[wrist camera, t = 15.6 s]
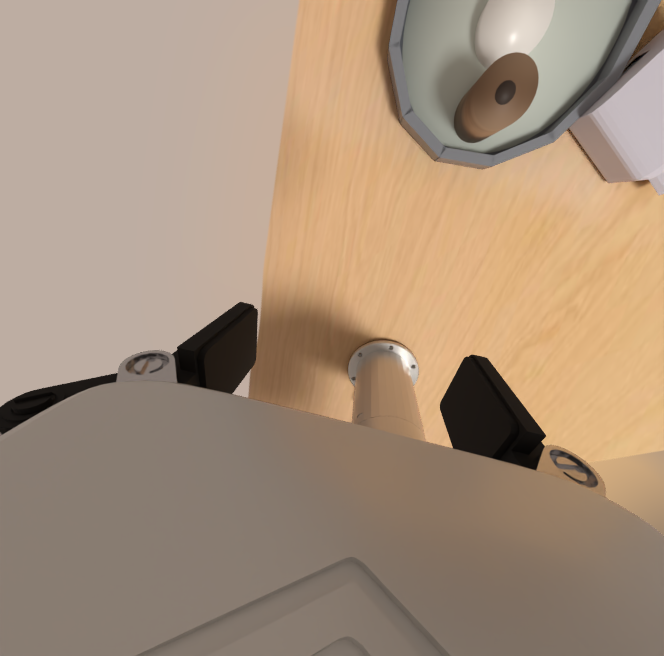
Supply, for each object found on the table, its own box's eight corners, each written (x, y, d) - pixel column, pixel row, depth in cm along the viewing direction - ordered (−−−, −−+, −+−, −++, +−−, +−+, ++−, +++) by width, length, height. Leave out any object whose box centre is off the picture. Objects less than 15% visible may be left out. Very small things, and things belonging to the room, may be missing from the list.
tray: (550, 181, 29) (565, 179, 27) (369, 149, 30) (369, 145, 28) (721, -152, 18) (768, -200, 16) (433, -181, 20) (441, -229, 17)
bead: (490, 146, 27) (519, 133, 22) (446, 139, 28) (464, 124, 22) (513, 87, 25) (551, 56, 20) (465, 80, 25) (489, 47, 20)
